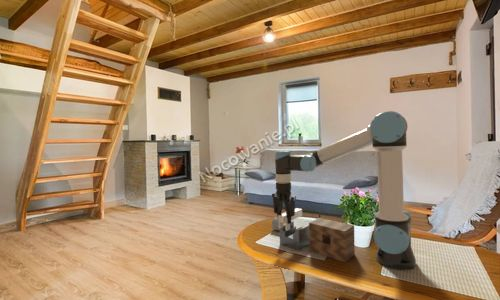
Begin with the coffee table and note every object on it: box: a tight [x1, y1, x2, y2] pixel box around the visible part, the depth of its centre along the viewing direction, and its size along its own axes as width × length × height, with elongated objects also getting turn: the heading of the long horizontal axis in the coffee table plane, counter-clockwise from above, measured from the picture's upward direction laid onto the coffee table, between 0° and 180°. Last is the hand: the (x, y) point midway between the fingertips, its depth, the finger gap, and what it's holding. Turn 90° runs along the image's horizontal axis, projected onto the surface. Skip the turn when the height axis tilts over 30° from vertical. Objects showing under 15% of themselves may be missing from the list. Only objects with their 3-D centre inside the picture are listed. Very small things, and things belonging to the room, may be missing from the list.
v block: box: [279, 220, 310, 251], centre depth 135 cm, size 12×10×10 cm
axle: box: [278, 207, 303, 223], centre depth 132 cm, size 4×16×4 cm, turn 136°
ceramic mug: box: [271, 216, 284, 232], centre depth 156 cm, size 11×8×8 cm
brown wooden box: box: [308, 217, 355, 263], centre depth 124 cm, size 18×10×14 cm, turn 46°
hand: (284, 228), depth 129 cm, fingers closed on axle, 3 cm apart
